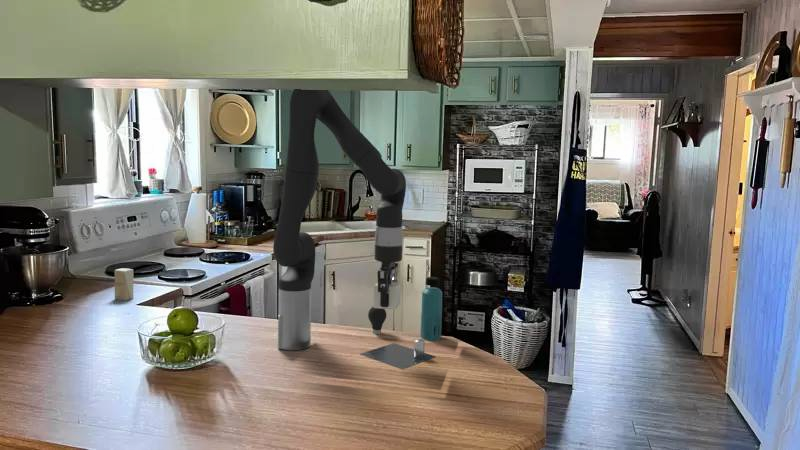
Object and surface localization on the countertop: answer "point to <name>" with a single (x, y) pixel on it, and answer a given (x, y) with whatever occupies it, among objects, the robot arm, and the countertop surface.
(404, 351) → the plate
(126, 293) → the cream upright cylinder
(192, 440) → the countertop surface
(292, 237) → the robot arm
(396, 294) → the white box
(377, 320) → the light bulb
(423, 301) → the beverage bottle
